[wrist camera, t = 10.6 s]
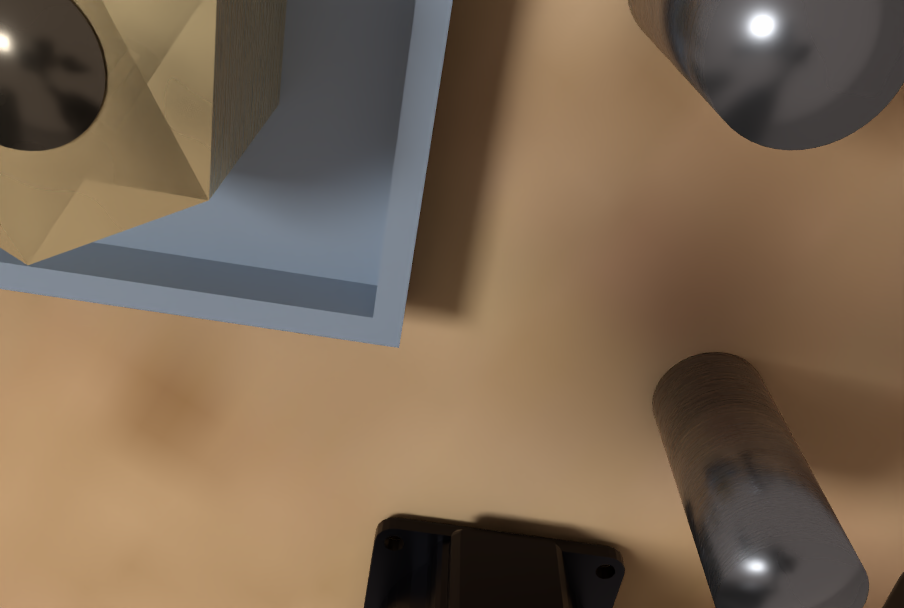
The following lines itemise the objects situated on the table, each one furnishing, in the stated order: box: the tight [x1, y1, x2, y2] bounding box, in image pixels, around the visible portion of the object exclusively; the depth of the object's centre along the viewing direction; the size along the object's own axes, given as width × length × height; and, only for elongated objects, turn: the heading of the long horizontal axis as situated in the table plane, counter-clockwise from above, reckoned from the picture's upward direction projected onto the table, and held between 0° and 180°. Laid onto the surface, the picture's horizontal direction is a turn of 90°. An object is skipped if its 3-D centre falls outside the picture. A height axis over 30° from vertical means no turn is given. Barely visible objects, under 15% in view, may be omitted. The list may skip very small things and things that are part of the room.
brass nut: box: [0, 0, 287, 265], centre depth 13 cm, size 6×5×5 cm
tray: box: [0, 0, 453, 348], centre depth 15 cm, size 11×11×2 cm
